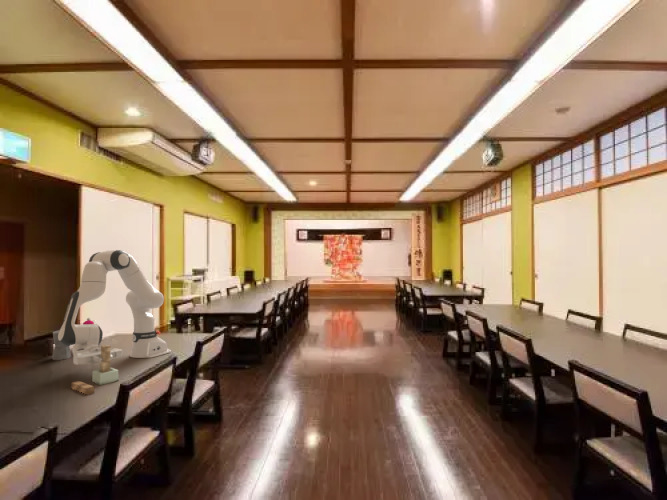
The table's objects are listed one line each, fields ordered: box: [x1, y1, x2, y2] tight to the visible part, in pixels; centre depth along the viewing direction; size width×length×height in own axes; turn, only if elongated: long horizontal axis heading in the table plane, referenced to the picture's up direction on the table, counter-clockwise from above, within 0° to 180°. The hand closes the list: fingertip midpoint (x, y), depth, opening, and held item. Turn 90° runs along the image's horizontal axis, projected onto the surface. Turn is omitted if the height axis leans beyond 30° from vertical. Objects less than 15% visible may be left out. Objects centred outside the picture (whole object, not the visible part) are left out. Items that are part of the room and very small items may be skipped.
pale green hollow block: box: [91, 366, 119, 386], centre depth 184 cm, size 8×8×5 cm
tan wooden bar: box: [70, 380, 95, 395], centre depth 170 cm, size 14×3×3 cm, turn 57°
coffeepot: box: [51, 330, 72, 361], centre depth 223 cm, size 15×9×18 cm, turn 67°
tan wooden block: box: [100, 344, 112, 373], centre depth 184 cm, size 3×3×14 cm
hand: (106, 358), depth 183 cm, fingers closed on tan wooden block, 3 cm apart
